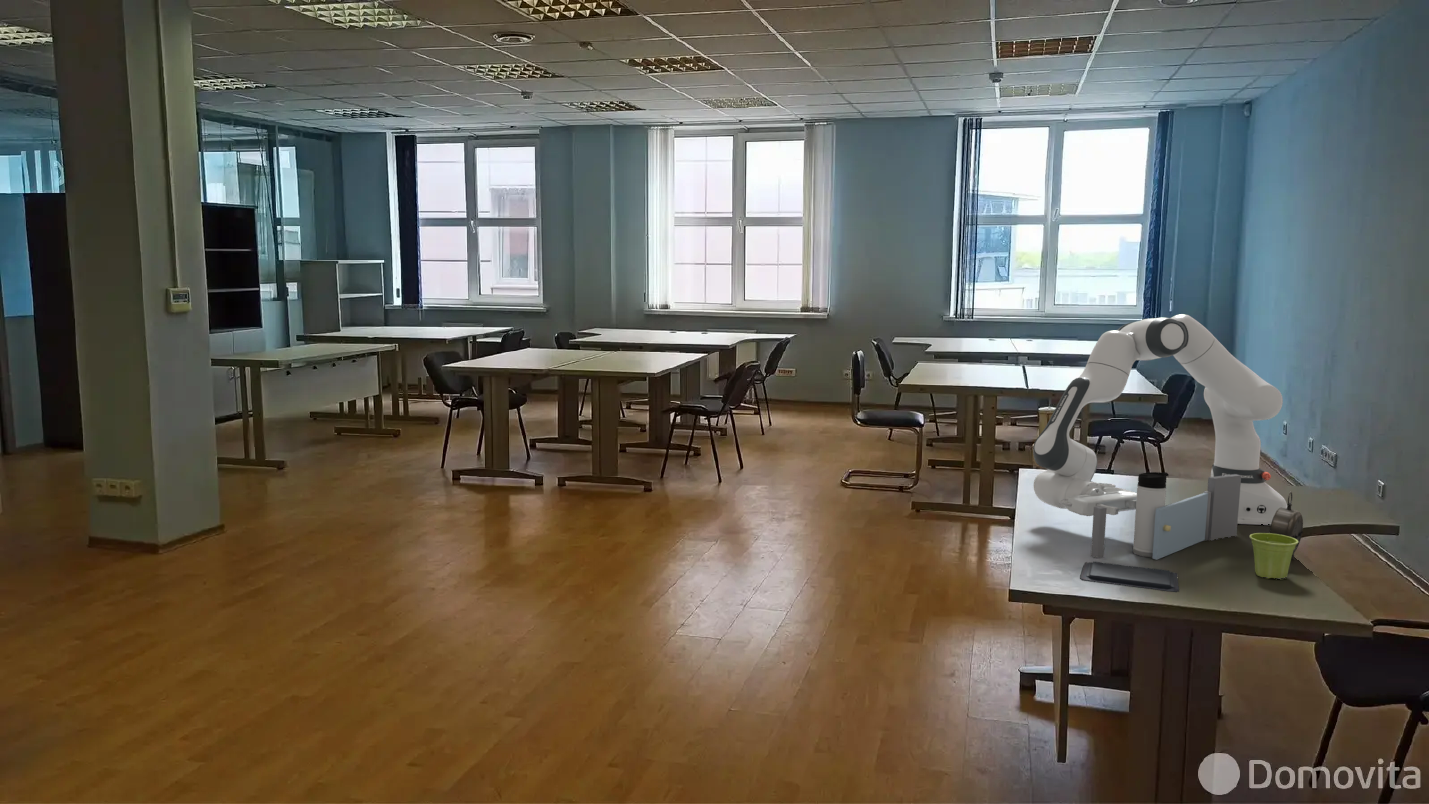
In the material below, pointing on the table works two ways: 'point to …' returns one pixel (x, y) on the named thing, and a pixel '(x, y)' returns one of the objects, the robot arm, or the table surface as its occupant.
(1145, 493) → the travel mug
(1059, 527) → the table surface
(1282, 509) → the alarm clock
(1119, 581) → the dark grey book
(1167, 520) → the door
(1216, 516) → the pair of grey slabs
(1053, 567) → the table surface
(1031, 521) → the table surface
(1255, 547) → the plant pot
